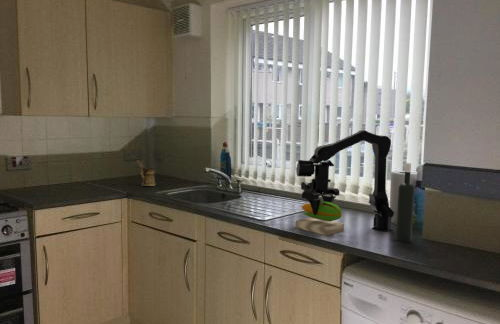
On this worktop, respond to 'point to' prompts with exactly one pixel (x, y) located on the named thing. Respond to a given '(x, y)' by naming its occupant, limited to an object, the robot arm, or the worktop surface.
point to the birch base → (319, 226)
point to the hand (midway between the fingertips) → (320, 213)
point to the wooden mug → (146, 175)
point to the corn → (324, 211)
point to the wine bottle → (405, 208)
